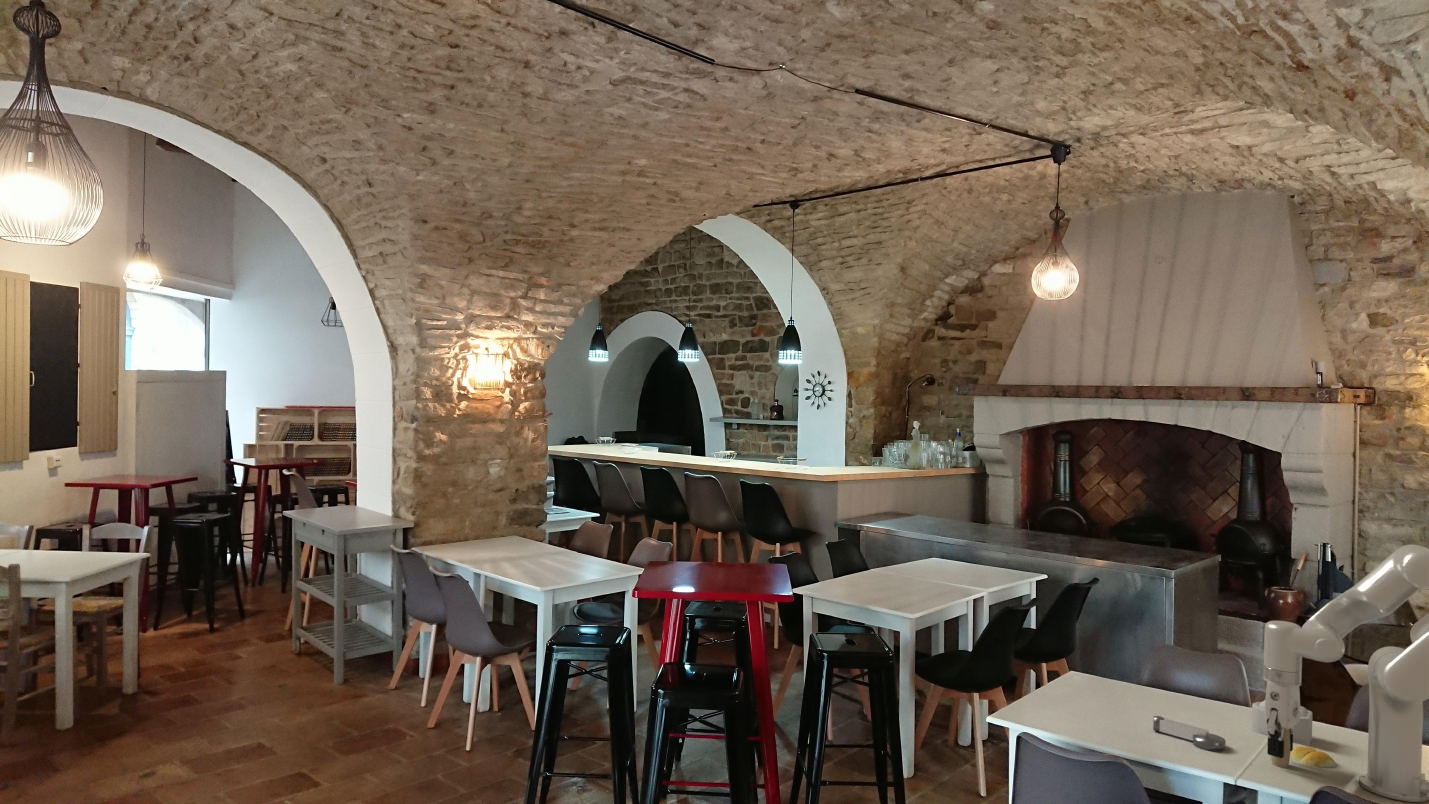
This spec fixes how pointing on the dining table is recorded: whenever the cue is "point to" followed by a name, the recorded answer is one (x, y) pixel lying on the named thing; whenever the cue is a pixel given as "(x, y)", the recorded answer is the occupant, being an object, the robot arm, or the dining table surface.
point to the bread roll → (1312, 757)
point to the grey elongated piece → (1190, 734)
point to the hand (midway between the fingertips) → (1280, 751)
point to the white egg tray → (1300, 730)
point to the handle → (1286, 738)
